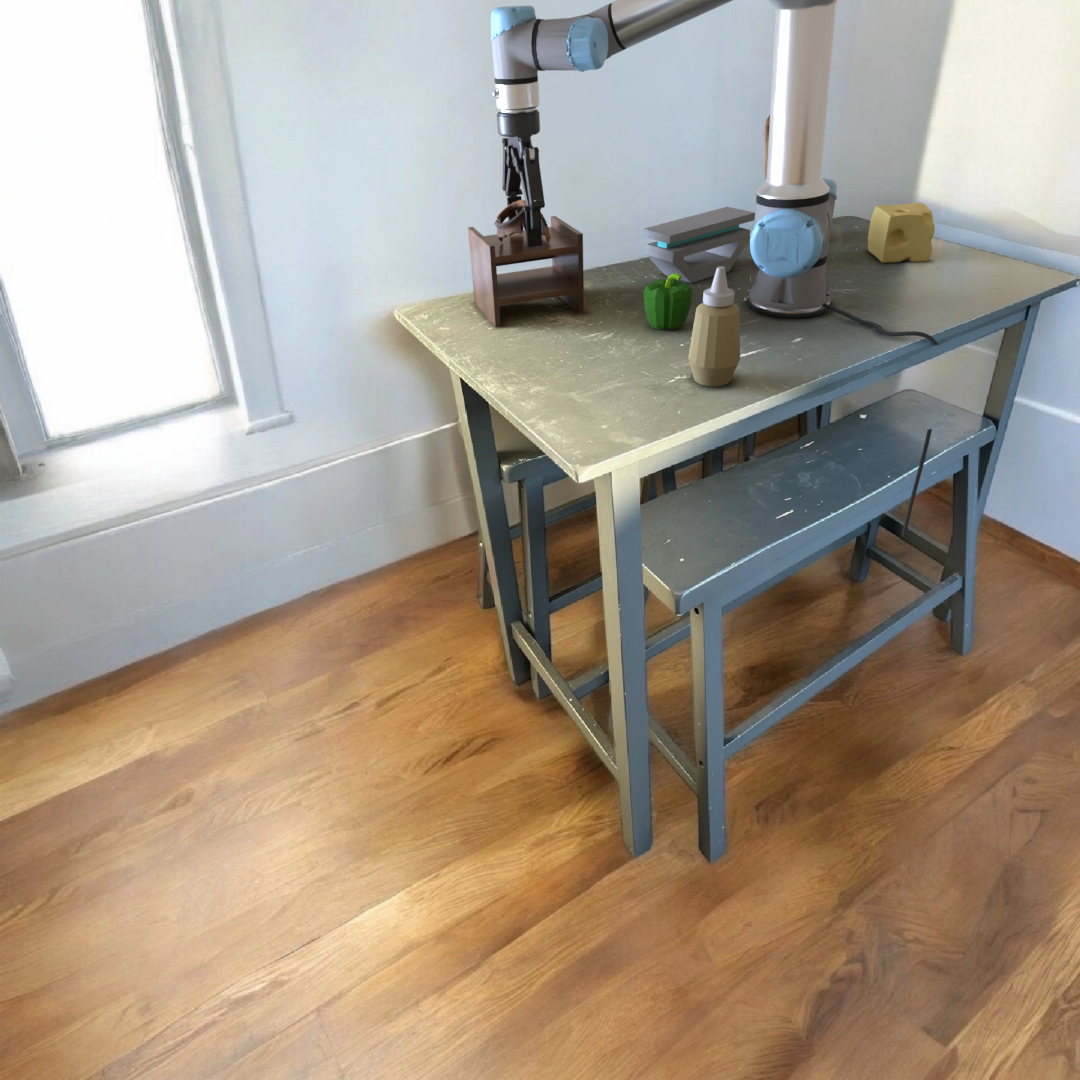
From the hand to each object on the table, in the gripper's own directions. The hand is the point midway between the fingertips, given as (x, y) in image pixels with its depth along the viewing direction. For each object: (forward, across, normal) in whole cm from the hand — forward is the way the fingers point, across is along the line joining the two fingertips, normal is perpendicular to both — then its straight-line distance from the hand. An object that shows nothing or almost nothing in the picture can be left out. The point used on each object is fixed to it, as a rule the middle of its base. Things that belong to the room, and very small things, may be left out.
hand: (525, 238), depth 162 cm
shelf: (+13, 0, 0) cm, 13 cm away
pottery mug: (0, 0, 0) cm, 0 cm away
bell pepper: (+14, +21, +20) cm, 32 cm away
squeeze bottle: (+14, +46, +16) cm, 51 cm away
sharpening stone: (+14, -5, +40) cm, 43 cm away
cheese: (+14, +4, +84) cm, 85 cm away
